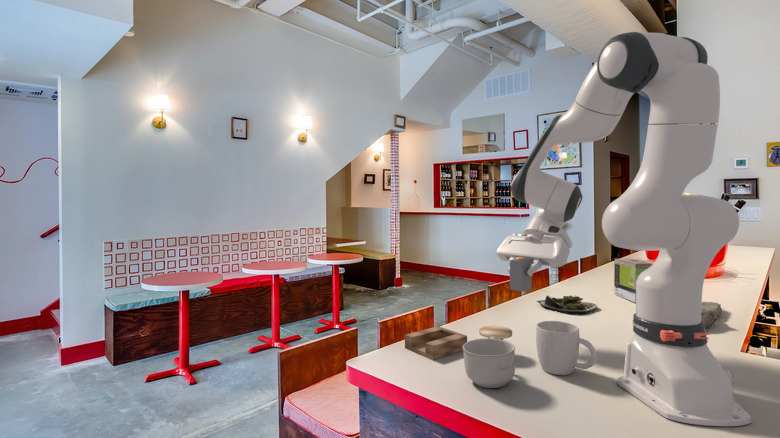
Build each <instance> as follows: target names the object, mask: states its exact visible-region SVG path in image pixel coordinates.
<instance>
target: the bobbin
mask: <svg viewBox="0 0 780 438" xmlns="http://www.w3.org/2000/svg"><path fill="white" fill-rule="evenodd" d="M478 332H479V335H480V336H482V337H484V338H490V337H492V336H493V337H496V338H497V339H501V340H505V339H508V338H511V337H513V330H512V329H511V328H509V327H506V326H500V325H486V326H485V325H484V326H482V327H480V328H479V331H478Z"/></svg>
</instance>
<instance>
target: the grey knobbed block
mask: <svg viewBox="0 0 780 438" xmlns="http://www.w3.org/2000/svg"><path fill="white" fill-rule="evenodd" d="M531 265H532V264H531V260H526V259H525V258H524V257H516V259H513V260H510V263H509V266H510V273H509V290H512V291H517V292H527V291H530V290H531V291H532V276H526V274H525V273H524V271H525V270H526V268H527V267H530V266H531Z"/></svg>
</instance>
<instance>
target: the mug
mask: <svg viewBox="0 0 780 438" xmlns="http://www.w3.org/2000/svg"><path fill="white" fill-rule="evenodd" d="M535 327H536V328H535V343H536V344H535V345H536V351H537V358H538V363H539V365H540V367H541V368H542V370H543V371H544V372H546V373H548V374H550V375H555V376H556V375H557V376H568V375H571V374H573V373H574V371H575V369H576V368H577V369H581V370H588V369H590V368H593V366H594V365H595V364H596V362H597V358H598V355H597V350H596V348H595V347H594V345H593V344H592V343H591V342H590V341H589V340H587V339H584V338H580V328H579V327H578V326H577V325H575V324H572V323H569V322H566V321H565V322H564V321H558V320H544V321H540V322H538V323H537V324H536V326H535ZM580 344H581V345H583V346H584V347H586V348H587V350H588V351H589V352H590V360H589V361H588V362H584V363H582V362H578V360H579V353H580Z"/></svg>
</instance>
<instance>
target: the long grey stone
mask: <svg viewBox="0 0 780 438" xmlns="http://www.w3.org/2000/svg"><path fill="white" fill-rule="evenodd" d="M722 311H723V308H722V305H721V304H720V303H718V302H713V301H702V305H701V321H702V322H703V324H704V328H705V330H706V329H707V328H708V327H709V328H710V327H712V324H713V322H714V321H715V320H716V319H718V317H720V314H721V313H722Z"/></svg>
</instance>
